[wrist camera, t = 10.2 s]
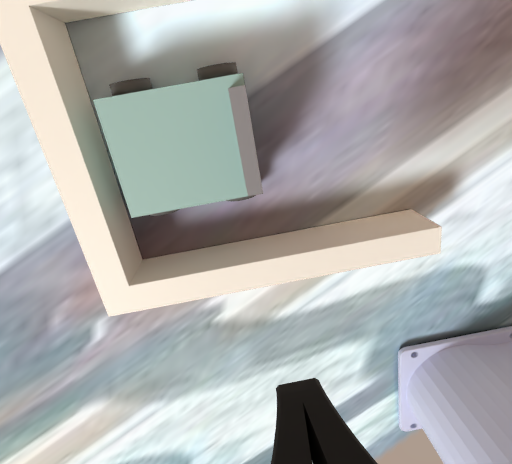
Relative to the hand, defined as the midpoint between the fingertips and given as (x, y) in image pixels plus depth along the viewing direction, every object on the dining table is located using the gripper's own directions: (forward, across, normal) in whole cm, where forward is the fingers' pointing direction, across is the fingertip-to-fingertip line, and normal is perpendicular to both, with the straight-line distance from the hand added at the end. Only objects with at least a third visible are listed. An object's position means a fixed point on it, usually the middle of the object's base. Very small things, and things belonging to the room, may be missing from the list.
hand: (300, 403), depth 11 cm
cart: (+10, +3, -8) cm, 13 cm away
